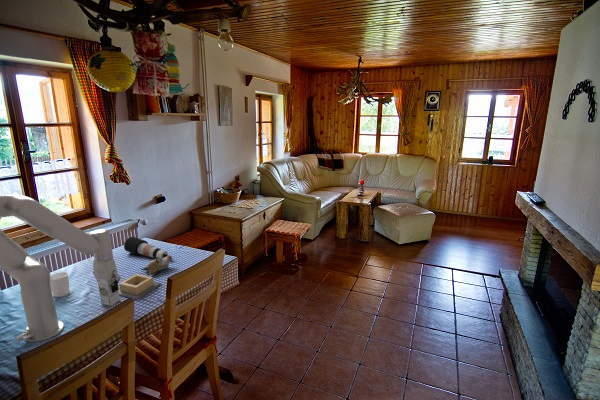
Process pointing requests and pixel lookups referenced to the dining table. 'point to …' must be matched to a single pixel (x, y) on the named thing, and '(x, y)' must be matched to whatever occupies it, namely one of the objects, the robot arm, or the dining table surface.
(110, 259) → the robot arm
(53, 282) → the white cup
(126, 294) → the socket
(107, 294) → the syrup box
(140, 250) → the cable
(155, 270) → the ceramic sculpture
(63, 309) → the dining table surface
